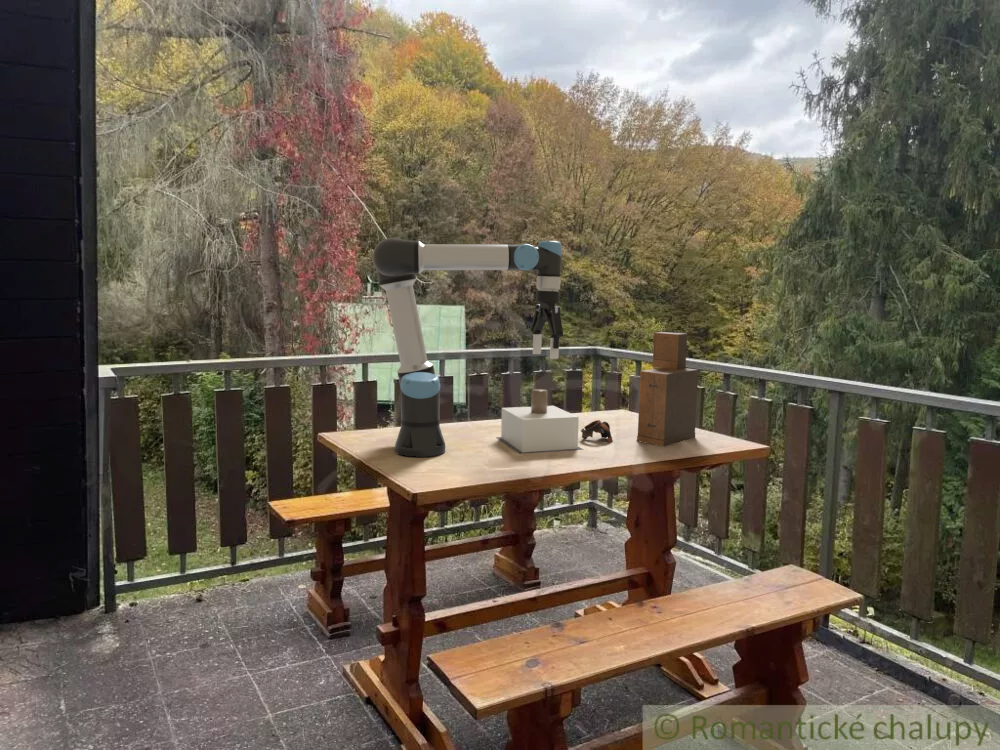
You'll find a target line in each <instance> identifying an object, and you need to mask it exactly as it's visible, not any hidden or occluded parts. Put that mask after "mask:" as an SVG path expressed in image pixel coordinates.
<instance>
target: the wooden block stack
mask: <svg viewBox="0 0 1000 750" xmlns="http://www.w3.org/2000/svg"><path fill="white" fill-rule="evenodd" d="M687 342H688V333H683V332H666V331H659V332H658V331H657V332H656V331H655V332H653V347H652V349H653V350H652V351H653V352H652V366H651V367H652V369H645V370H640V372H639V394H638V395H639V398H638V421H637V423H638V424H637V435H636V441H637V442H639V441H641V442H640V443H644V442H646V443H645V444H649V443H651V444H650V445H654V444H655V445H654V446H659V447H667V446H671V445H674V444H678V443H682V442H685V441H689V440H694V439H696V420H697V419H696V418H697V399H698V397H697V396H698V382H699V381H698V380H699V369H698V368H697V369H694V368H688V367H687V368H686V363H687V345H688V343H687ZM653 368H654V369H653Z"/></svg>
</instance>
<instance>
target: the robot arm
mask: <svg viewBox="0 0 1000 750" xmlns="http://www.w3.org/2000/svg"><path fill="white" fill-rule="evenodd" d="M562 252H563V246H562V243H561V242H560V241H556V240H540V241H539V242H538V245H537V246H534V245H531V244H530V243H523V244H493V243H492V244H490V243H489V244H482V243H481V244H476V243H475V244H474V243H473V244H472V243H471V244H464V243H461V244H458V243H457V244H456V243H454V244H451V243H450V244H449V243H448V244H447V243H445V244H441V243H438V244H435V243H434V244H433V243H432V244H431V243H422V242H421V241H420V240H409V239H408V240H407V239H401V238H397V237H389V238H384V239H383V240H381V241H379V242H378V243H377V244H376V246H375V248H374V249H373V253H372V262H373V265H374V267H375V269H376V275H377V280H378V284H379V287H380V288H382V289H383V290H384V291H385V294H386V298H387V304H388V309H389V313H390V319H391V323H392V328H393V334H394V338H395V343H396V349H397V353H398V358H399V362H400V366H399V368H398V369H397V370H396V371H397V372H396V373H397V377H398V381H399V388H400V428H399V432H398V435H397V438H396V442H395V444H394V445H395V446H394V449H395V450H394V452H395V454H397V453H398V455H399V454H401V455H400V456H403V455H405V456H404V457H409V456H416V457H415V458H425V457H426V458H427V457H428V456H429V457H436V456H439V455H442V453H443V454H444V453H445V452H446V442H445V440H444V436H443V433H442V429H441V426H440V413H441V412H440V411H441V407H440V406H441V405H440V400H441V396H440V395H441V383H440V377H439V376H438V375H436V373H435V371H436V370H435V367H434V363H432V362H430V361H429V360H428V356H427V351H426V346H425V341H424V335H423V329H422V326H421V321H420V315H419V310H418V306H417V301H416V295H415V291H414V290H415V289H414V284H415V282H416V281H417V277H416V276H417V275H418V274H419V275H420V274H421V273H422V272H423V271H532V272H533V271H534V272H537V273H536V288H535V289H537V290H536V292H535V293H536V294H535V296H536V297H535V301H536V302H537V303H538V304H535V306H534V307H535V309H534V314H533V317H532V322H531V326H530V332H532V334H533V337H532V338H533V339H532V355H542V342H543V341H542V339H543V332H542V330H543V328H544V326H545V324H546V322H547V324H548V327H549V331H550V334H551V335H550V337H549V338H550V341H549V342H550V344H549V359H550V360H558V359H559V357H560V356H559V354H560V339H561V338H562V337H564V330H563V323H562V318H561V317H562V316H561V307H560V305H559V306H557V305H556V304H558V303H560V299H561V297H560V296H561V295H560V294H561V293H560V291H559V290H561V283H562V280H561V274H562V260H563V259H562V258H563V253H562Z"/></svg>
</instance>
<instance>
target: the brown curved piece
mask: <svg viewBox="0 0 1000 750" xmlns="http://www.w3.org/2000/svg"><path fill="white" fill-rule="evenodd" d="M580 432H581V433H582V434H581V438H582V439H583V440H586V439H588V438H589V437H590V438H593V436H594V435H593V434H594V433H596V434H600V436H601V438H604V439H606V441H607V443H608V444H611V443H613V442H614V440H613V437H612V434H611V433H612V432H611V427H610V424H609V422H607V421H601V420H600V419H598V420H594V421H592V422H590V423H588V424H587V425H585V426H584V428H581V429H580Z"/></svg>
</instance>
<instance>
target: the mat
mask: <svg viewBox="0 0 1000 750" xmlns="http://www.w3.org/2000/svg"><path fill="white" fill-rule="evenodd" d="M495 438H496V439H497V440H499V441H500V442H502V443H503V444H505V445H506V446H508V447H509V448H511V449H512V450H514V451H515V452H516V453H518V454H520V455H523V454H536V453H537V454H538V453H552V452H555V453H556V452H566V451H567V452H569V451H581V450H583V451H584V448H582V447H580V446H578V449H566V450H550V451H535V452H521V451H520V450H518V449H517V448H515V447H514V446H512V445H511V444H509V443H508V442H506V441H505V440H503V439H502V438H501V436H496V437H495Z"/></svg>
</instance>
